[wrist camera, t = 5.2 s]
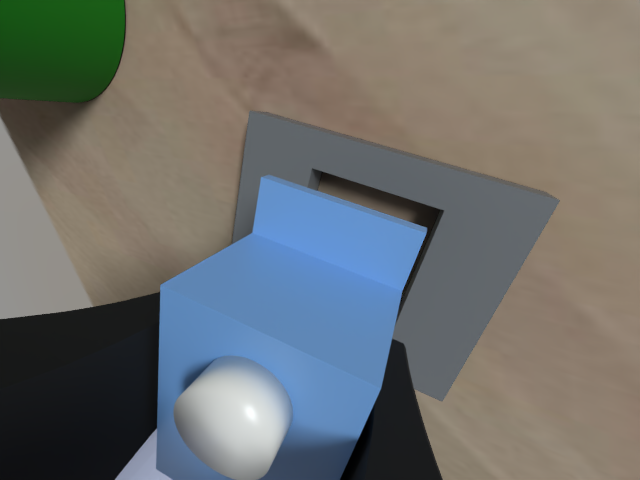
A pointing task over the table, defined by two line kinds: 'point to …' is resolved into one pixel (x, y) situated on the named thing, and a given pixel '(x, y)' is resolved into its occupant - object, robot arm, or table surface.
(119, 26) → the motor
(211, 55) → the table surface
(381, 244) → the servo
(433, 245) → the grey flat frame
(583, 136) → the table surface
